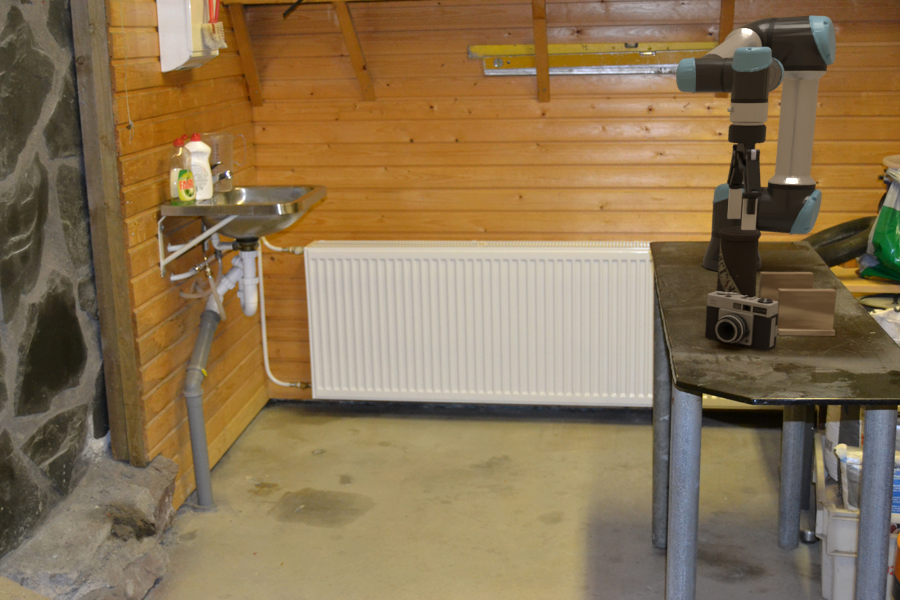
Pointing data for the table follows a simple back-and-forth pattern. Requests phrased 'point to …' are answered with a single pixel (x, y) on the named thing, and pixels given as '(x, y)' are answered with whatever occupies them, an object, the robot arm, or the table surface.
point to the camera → (742, 320)
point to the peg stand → (799, 303)
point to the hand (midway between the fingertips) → (740, 224)
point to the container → (738, 260)
